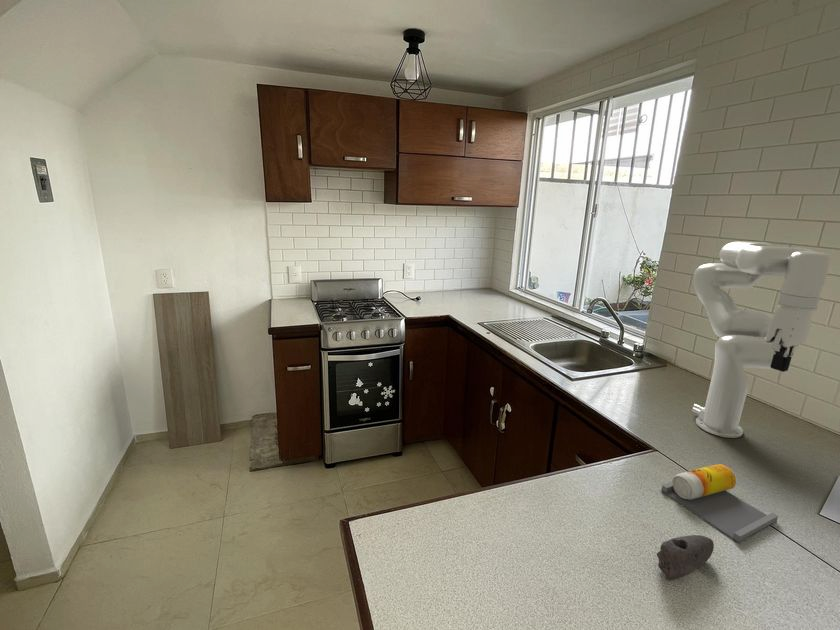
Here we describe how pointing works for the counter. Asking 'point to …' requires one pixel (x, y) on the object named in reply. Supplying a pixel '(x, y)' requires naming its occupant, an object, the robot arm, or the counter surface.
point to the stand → (725, 513)
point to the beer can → (704, 481)
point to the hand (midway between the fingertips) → (778, 369)
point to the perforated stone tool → (684, 555)
